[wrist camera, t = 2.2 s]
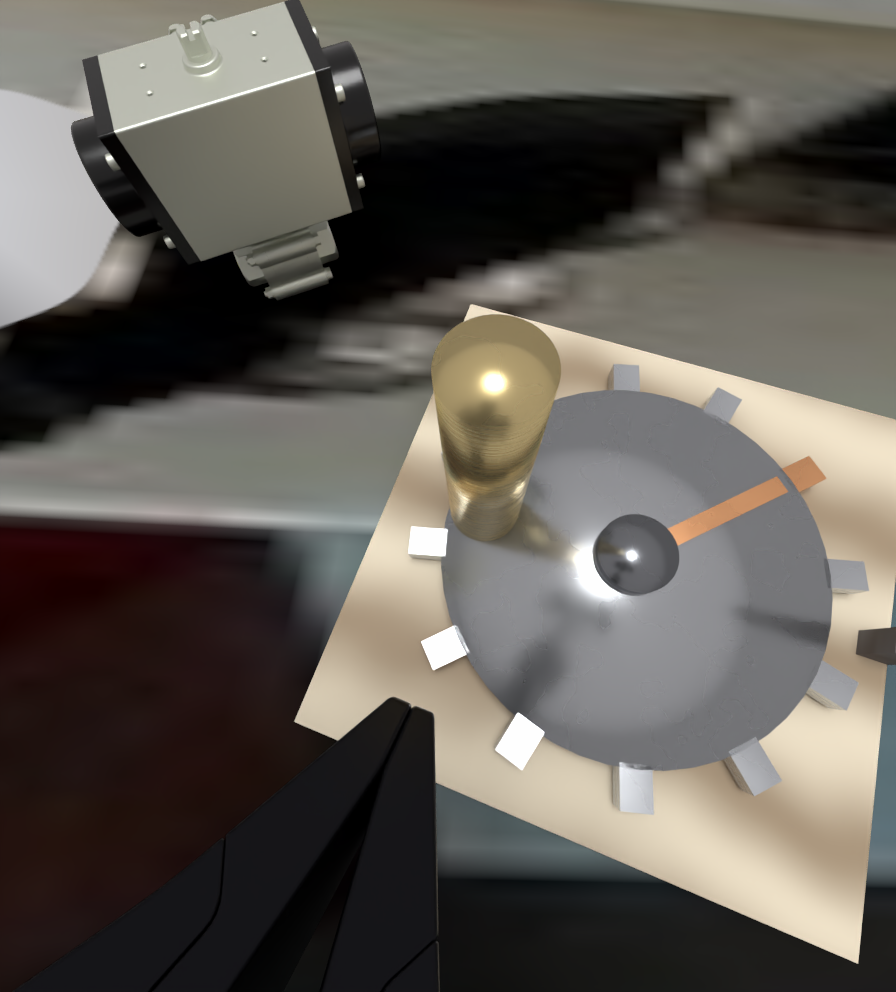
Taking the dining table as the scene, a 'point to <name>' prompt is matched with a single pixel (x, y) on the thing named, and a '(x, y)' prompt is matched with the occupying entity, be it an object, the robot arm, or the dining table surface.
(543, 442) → the sprocket
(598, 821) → the sprocket base
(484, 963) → the dining table surface
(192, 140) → the pneumatic valve
